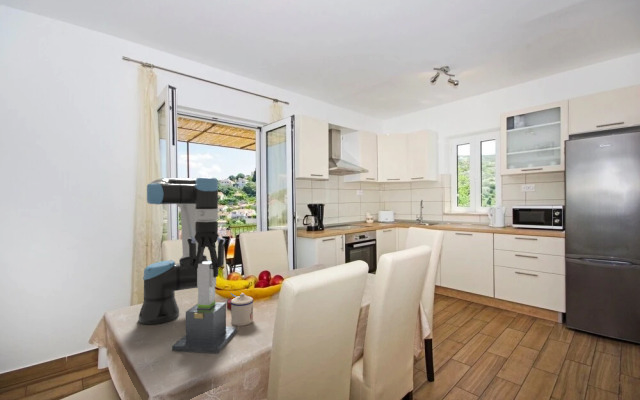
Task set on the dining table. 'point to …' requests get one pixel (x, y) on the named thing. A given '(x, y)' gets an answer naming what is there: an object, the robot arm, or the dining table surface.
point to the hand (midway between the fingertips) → (206, 285)
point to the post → (205, 286)
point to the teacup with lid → (242, 310)
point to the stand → (205, 330)
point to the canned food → (230, 301)
